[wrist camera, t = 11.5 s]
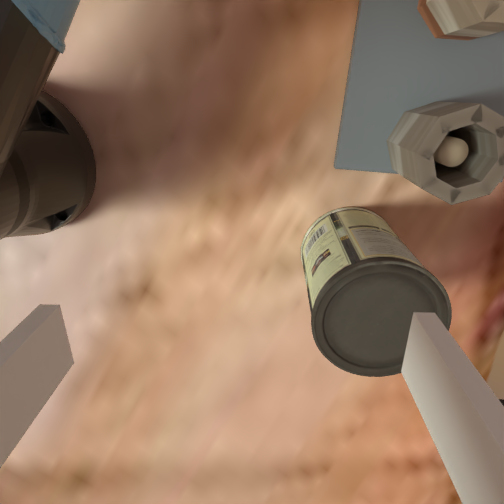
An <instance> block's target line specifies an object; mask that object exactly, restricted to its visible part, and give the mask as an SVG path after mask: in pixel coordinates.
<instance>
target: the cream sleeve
mask: <svg viewBox="0 0 504 504" xmlns="http://www.w3.org/2000/svg"><path fill="white" fill-rule="evenodd" d="M417 10H418V11H419V13H420V14H421V16H422V18H423V19H424V21H425V23H426V24H427V26H428V28H429V29H430V31H431V32H432V34H433V36H434V37H435V38H441V39H455V40H472V39H476V38H479V37H483V36H487V35H490V34H494V33H497V32H501V31H504V0H419V2H418V7H417Z"/></svg>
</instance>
